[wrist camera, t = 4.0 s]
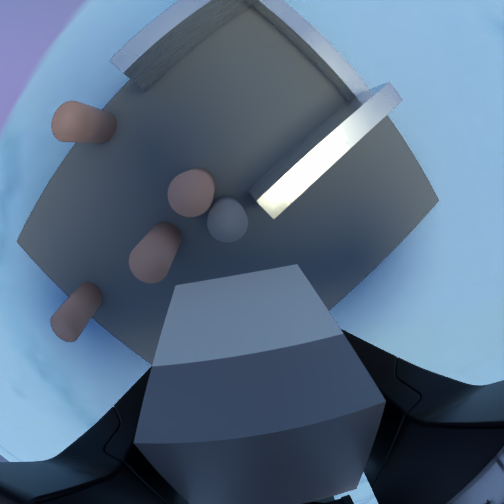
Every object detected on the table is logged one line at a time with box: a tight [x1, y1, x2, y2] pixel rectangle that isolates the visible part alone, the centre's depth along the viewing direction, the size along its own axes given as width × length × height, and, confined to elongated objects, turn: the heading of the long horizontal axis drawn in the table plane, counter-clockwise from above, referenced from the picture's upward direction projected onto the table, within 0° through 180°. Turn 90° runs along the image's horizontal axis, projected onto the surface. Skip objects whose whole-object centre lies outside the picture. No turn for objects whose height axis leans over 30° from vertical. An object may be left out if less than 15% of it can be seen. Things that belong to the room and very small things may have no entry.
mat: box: [17, 7, 439, 364], centre depth 12 cm, size 17×14×1 cm
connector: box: [134, 264, 386, 504], centre depth 7 cm, size 4×4×6 cm
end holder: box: [109, 0, 403, 219], centre depth 9 cm, size 7×8×3 cm
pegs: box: [51, 101, 248, 342], centre depth 11 cm, size 9×14×3 cm, turn 44°
